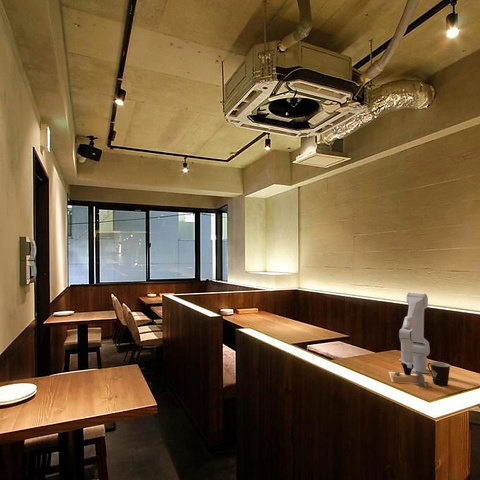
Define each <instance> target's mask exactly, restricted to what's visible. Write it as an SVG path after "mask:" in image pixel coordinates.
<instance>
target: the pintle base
mask: <svg viewBox="0 0 480 480" xmlns="http://www.w3.org/2000/svg"><path fill="white" fill-rule="evenodd" d="M391 373H396V376H399V374H403V375H405V374H404V372H399V371H388V374H389V377H390V380H391V382H392V383H400V384H409V385H416V386H417V385H418V386H419V383H416V382H398V381H393V380H392V378H391ZM411 375H415V376H417V375H416V373H411ZM424 386H427V383H426V382H425V383H424Z"/></svg>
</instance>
